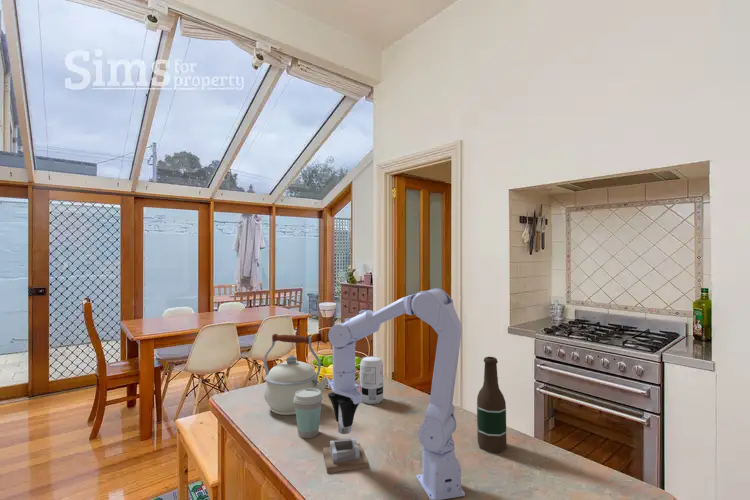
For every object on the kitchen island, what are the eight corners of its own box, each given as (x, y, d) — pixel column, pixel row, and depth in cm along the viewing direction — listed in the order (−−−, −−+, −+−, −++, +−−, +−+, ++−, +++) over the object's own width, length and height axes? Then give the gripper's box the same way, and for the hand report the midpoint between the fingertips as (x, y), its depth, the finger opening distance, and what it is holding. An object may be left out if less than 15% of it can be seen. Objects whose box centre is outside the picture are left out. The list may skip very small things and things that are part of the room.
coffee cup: (327, 436, 111) (327, 394, 111) (298, 443, 107) (298, 399, 107) (316, 425, 119) (316, 385, 119) (289, 431, 114) (289, 390, 115)
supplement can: (357, 398, 141) (356, 357, 141) (377, 395, 144) (377, 354, 145) (365, 406, 133) (365, 362, 134) (387, 402, 137) (386, 360, 137)
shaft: (352, 432, 98) (352, 404, 98) (340, 434, 96) (340, 406, 96) (348, 427, 101) (348, 400, 101) (336, 429, 99) (336, 402, 99)
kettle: (248, 413, 128) (248, 338, 128) (278, 394, 145) (278, 328, 146) (316, 423, 120) (315, 343, 120) (339, 402, 137) (339, 332, 138)
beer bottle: (486, 455, 100) (485, 362, 100) (471, 441, 107) (470, 355, 108) (512, 451, 102) (511, 360, 102) (496, 438, 109) (495, 353, 110)
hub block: (367, 467, 94) (367, 452, 95) (326, 472, 92) (326, 457, 92) (359, 447, 104) (359, 434, 104) (322, 452, 102) (322, 438, 102)
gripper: (372, 374, 95) (372, 429, 95) (344, 361, 107) (344, 410, 107) (347, 379, 91) (347, 437, 91) (320, 365, 103) (321, 416, 103)
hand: (344, 423), depth 98 cm, fingers closed on shaft, 3 cm apart
